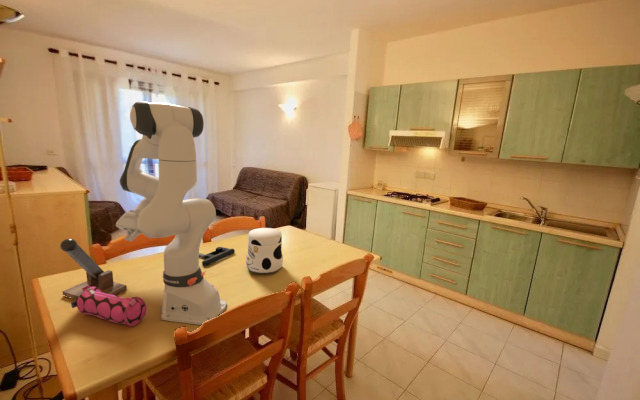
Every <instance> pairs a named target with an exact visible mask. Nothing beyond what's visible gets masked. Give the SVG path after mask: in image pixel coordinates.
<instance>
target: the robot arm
mask: <svg viewBox="0 0 640 400" xmlns="http://www.w3.org/2000/svg"><path fill="white" fill-rule="evenodd" d="M129 118H130V120H129V121H130V123H131V124H132V127H133V130H135V131H136V132H137V133H138V134H140V135H142V137H141V139H137V140H135V141H134V142H133V144H132V145H131V147H130V150H129V153H128V156H127V160H126V162H125V166H124V169H123V172H122V174H121V176H120V179H119V184H120V186H121V188H122V190H123V191H125V192H129V193H132V194H136V195H138V196H140V197H144V198H143V199H141V200H140V202H139V203H138V205H137V206H136V207H135V209H134V210H133V209H130V210H129V211H126V212H124V214H122V215H121V216H120V217H119V219H117V221H116V223H115V227H116V228H118V229H119V230H123V231H126V234H125V237H124V240H125V241H128V242H134V240H135V239H136V238H137V237H139V236H140V235H141V234H142V235H144V236H145V237H146V238H147V239H158V238H168V237H171V236H174V235H175V236H174V238H173V240H172V241H171V242H170V243H168V245H166V247H165V248H164V251H163V271H162V281H163V283H164V288H163V297H162V304H161V307H160V312H161V315H160V316H161V317H160V319H161V320H162V321H168V322H175V323H181V324H182V323H183V324H192V325H197V326H198V325H199V326H202V325H201V324H202V323H203V322H205V321H207V320H210V319H212V318H214V317H216V316H218V315H219V314H220V315H221V314H222V313H223V312H224V311H225V310H226V308H227V300H223V299H221V296H220V293H219V291H218V289H217V288H216V287H215V285H213V284H211V282H209V281H208V280H207V279H205V277H204V276H205V275H206V272H207V271H206V270H205V271H203V272H202V268H201V266H200V257H199V253H200V247H201V242H202V239H203V237H204V235H205V232H206V231H207V229H208V228H209V226H210V225H212V223H214V222H215V219H216V214H217V212H216V207H215V205H214V204H213V202H212V201H211V200H210V199H206V198H201V197H199V198H195V197H194V198H188V199H185V197H186V195H187V193H188V192H189V191H190V190H191V189H193V188H194V187H195V185H197V184H196V183H197V176H198V175H197V173H198V172H197V152H196V144H195V139H194V138H198V137H199V136H201V135H202V134H203V131H204V124H205V123H204V117H203V115H202V113H201V111H200V110H199V109H197V108H194V107H190V106H188V107H187V106H183V105H179V104H178V105H177V104H171V103H169V102H168V103H167V102H157V101H156V102H152V101H151V102H150V101H149V102H148V100H147V101H145V100H143V101H136V102H134V103H133V104H132V107H131V109H130V113H129ZM143 159H149V160H158V177H157V176H155V175H152V174H149V173H146V172H145V171H142V170H141V168H140V167H141V164H142V161H143ZM220 315H219V316H220ZM219 316H218V317H219ZM216 318H217V317H216Z"/></svg>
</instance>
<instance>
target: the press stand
mask: <svg viewBox="0 0 640 400" xmlns="http://www.w3.org/2000/svg"><path fill="white" fill-rule="evenodd" d="M85 273H86V281H84V282H82V283H79V284H76V285H74V286H72V287H70V288H67V289H65V290H63V291H62V296H63V295H65V296H67V297H71V298H73V299H76V300H75V301H77V300H78V298H79V296H80V295H81V293H83V290H82V288H83V287H85V286H87V285H89V287H98V288H99V289H100V290H101V292H103V293H108V294H113V295H115V296H119V295H120V294H122V293H124V292H126V291H127V290H128V287H127V284H123V283H119V282H117V281H116V282H115V281H114V274H113V270H109V269H108V270H106V271H104V272H103V273H101V274H98V281H99V282H98V281H95V280H94V279H93V278H92V277H91V276H90V275H89V274H88V273H87V272H86V271H85ZM67 297H66V298H67ZM73 299H72V300H73Z"/></svg>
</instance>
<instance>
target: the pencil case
mask: <svg viewBox="0 0 640 400" xmlns="http://www.w3.org/2000/svg"><path fill="white" fill-rule="evenodd" d="M82 290H83V293H81V295H80V296H79V298H78V300H73V301H72V302H70V306H71V308H72V309H74V308H77V311H79V313H81V314H83V315H87V316H94V317H96V318H99V319H103V320H105V321H108V322H111V323H115V324H121V325H128V326H129V327H133V326H137V325H138V324H139V323H140V322H141V321H142V320H143V318H144V317H145V316H146V314H147V305H146V302H145V300H144V299H143V298H141V297H140V296H128V297H122V296H119V295H116V296H115V295H113V294H108V293H103V292H101V290H100V289H99V288H98V287H89V285H87V286H85V287H83V288H82Z"/></svg>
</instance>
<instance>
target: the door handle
mask: <svg viewBox="0 0 640 400" xmlns="http://www.w3.org/2000/svg"><path fill="white" fill-rule="evenodd" d="M235 252H236V251H235V249H234V248H228V247H223V246H217V247H216V248H215V250H214V251H211V252H209V253H207V254H204V253H200V252H199V259H204V260H202V261H201V265H202V266H203V267H206V266H210V265H212V264H214V263H218V262H220V261H221V260H225V259H226V258H228V257H230V256H232V255H233V254H235Z"/></svg>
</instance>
